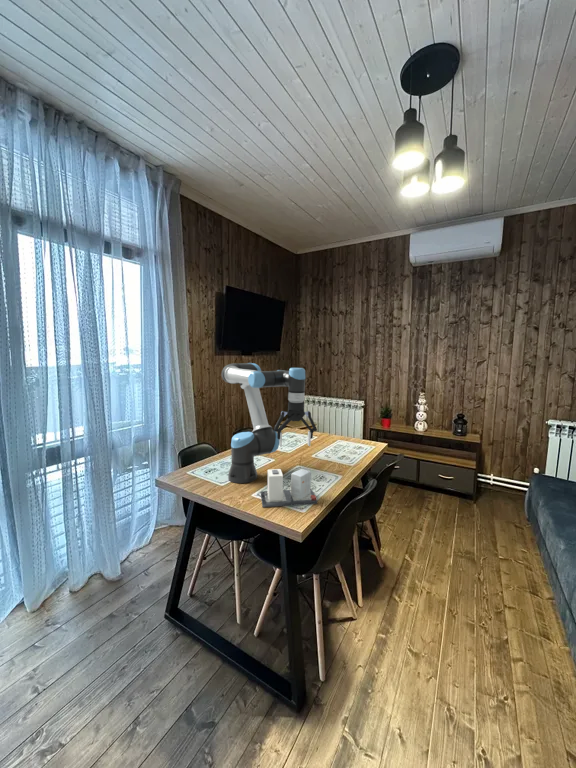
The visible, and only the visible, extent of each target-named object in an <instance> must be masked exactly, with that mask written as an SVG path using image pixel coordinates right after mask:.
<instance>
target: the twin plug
mask: <svg viewBox="0 0 576 768" xmlns="http://www.w3.org/2000/svg"><path fill="white" fill-rule="evenodd" d="M283 490H284V476H283V472H282V469H281V468H275V469H274V468H272V469H267V491H268V492H267V493H268V498H269V501H276V500H283Z"/></svg>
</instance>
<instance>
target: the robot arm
mask: <svg viewBox="0 0 576 768" xmlns="http://www.w3.org/2000/svg"><path fill="white" fill-rule="evenodd" d="M221 378H222V381H224V382H225V383H228V384H236V385H237V384H239V386H240V388H241V389H242V390H244V395H245V399H246V402H247V407H248V412H249V416H250V419H251V424H252V428H253V430H252V431H242V432H237V433H236V434H234V435H233V436H232V437H231V443H230V451H231V453H230V454H231V457H230V458H231V463H230V467H229V471H228V474H227V476H228V477H227V479H228V480H229V481H230V482H232V483H235V484H247V483H251V482H254V481H255V480H257V479H258V471H257V468H256V466H255V462H254V461H255V457H259V456H263V455H270V454H272V453H275V452H276V451H278V449H279V448H280V447H282V446H283V430H284V429H285V428H286V426H288V424H290V422H291V421H292V422H302V423H303V424H304V425H305V427H306V429H308V430H307V445H308V447H310V446H311V440H312V439H313V437H314V432H317V430H318V429H317V427H316V425H315V422H314V420H313V418H312V413H311V411H310V410H307V411H305V402H304V401H305V394H306V393H305V392H306V378H307V377H306V370H305V368H303V367H290V368H289V370H285V369H277V370H269V371H268V370H262V369H261V367H260V365H258V364H256V363H254V362H253V363H252V362H247V363H235V362H234V363H229V364H227V365H225V366H224V367H223V369H222V370H221ZM276 387H287V388H288V393H287V400H288V402H287V411H284V410H281V412H280V416H279V418H278V419H277V422H276V424H275V425H274V427H272V426H271V425H270V424H269V421H268V417H267V414H266V411H265V410H266V409H265V406H264V401H263V398H262V394H261V391H260V388H276ZM286 415H287V418H286V419H285V421H283V420H284V418H285V417H286ZM305 415H306V417H307V418H308V420H309V422H310V425H311V426H312V427H311V426H310V425H309V423H308V422H307V421H306V419H304V417H305ZM282 421H283V423H282ZM281 423H282V424H281Z"/></svg>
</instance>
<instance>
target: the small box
mask: <svg viewBox="0 0 576 768" xmlns="http://www.w3.org/2000/svg"><path fill="white" fill-rule="evenodd" d="M311 476H312V472H311V471H310V470H307V469H304V468H300V469H298V470H296V471H293V472H292V473H291V474H290V490H291V496H293V497H296V498H298V499H302V498H303V497H305V496H307V495H308V494H310V493H311V489H312V488H311V486H312V485H311V484H312V483H311V482H312V480H311V479H312V477H311Z"/></svg>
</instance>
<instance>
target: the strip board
mask: <svg viewBox="0 0 576 768" xmlns="http://www.w3.org/2000/svg"><path fill="white" fill-rule="evenodd" d="M267 492H268V490H265V491H260V498H261V499H260V500H261V507H262V508H273V507H285V506H286V507H287V506H304V505H317V504H318V498H317V496H316V495H315V493H314V491H313V489H312V488H311V493H310V494H308V495H307V496H305V497H303V498H302V499H298V498H296V497H293V496H291V489H283V500H276V501H269V498H268V493H267Z"/></svg>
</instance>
